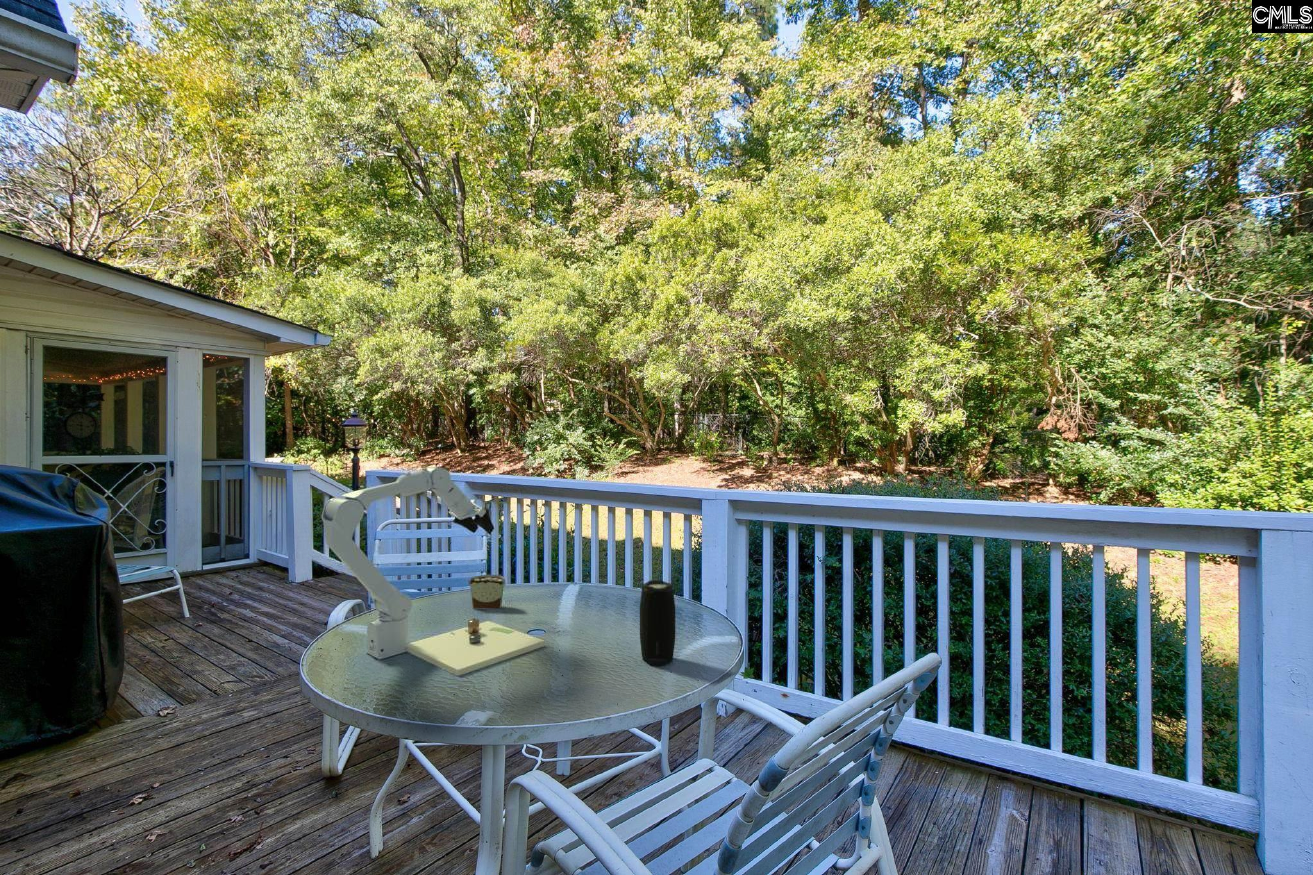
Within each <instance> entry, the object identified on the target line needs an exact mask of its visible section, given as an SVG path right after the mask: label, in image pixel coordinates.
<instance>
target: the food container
mask: <svg viewBox="0 0 1313 875" xmlns="http://www.w3.org/2000/svg"><path fill="white" fill-rule="evenodd" d="M506 584H507V583H506V578H505V577H504V576H503V575H500V574H499V575H498V574H482V575H477V576H473V577H470V578H469V580H468V585H470V594H471V604H472V610H502V605H503V597H504V596H503V594H504V586H506Z"/></svg>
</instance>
